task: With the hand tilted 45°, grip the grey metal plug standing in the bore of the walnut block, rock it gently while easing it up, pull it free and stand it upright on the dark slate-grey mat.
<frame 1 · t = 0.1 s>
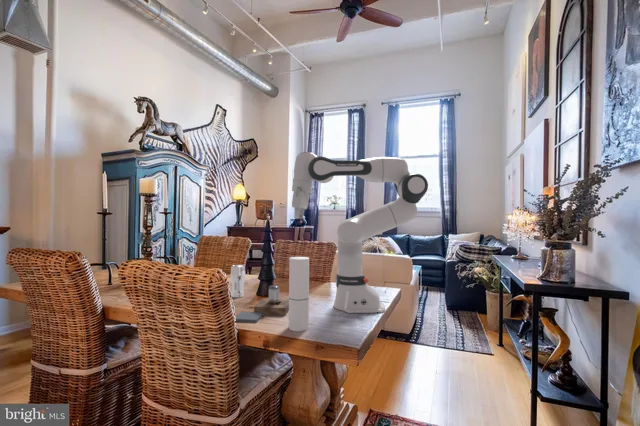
hand: (298, 218, 140), 39 cm above the table, tool pointing down, fingers open, 8 cm apart
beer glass: (237, 296, 153), on the table
slate mat: (248, 318, 121), on the table
metal plug: (273, 298, 132), in the walnut bore block
cylindrical container: (298, 328, 112), on the table
walnut bore block: (273, 309, 132), on the table
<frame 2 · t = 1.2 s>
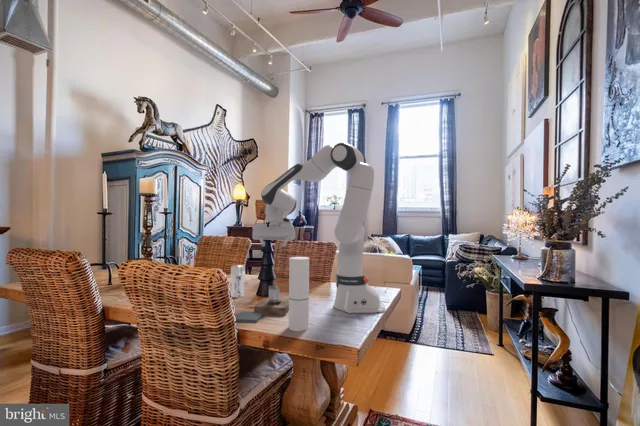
hand: (273, 245, 144), 26 cm above the table, tool tilted 45°, fingers open, 8 cm apart
nothing on the table moved.
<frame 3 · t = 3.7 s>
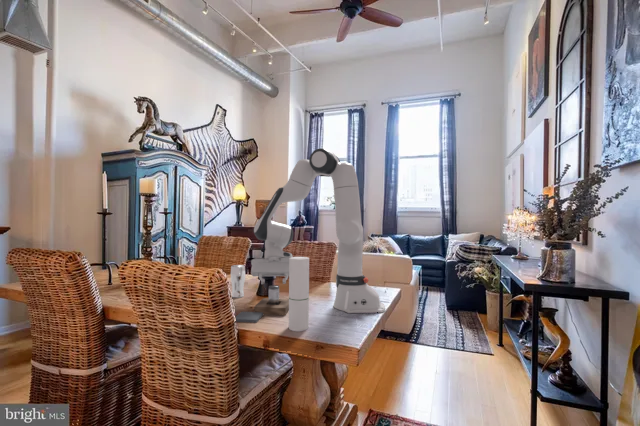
hand: (273, 283, 138), 10 cm above the table, tool tilted 45°, fingers open, 8 cm apart
nothing on the table moved.
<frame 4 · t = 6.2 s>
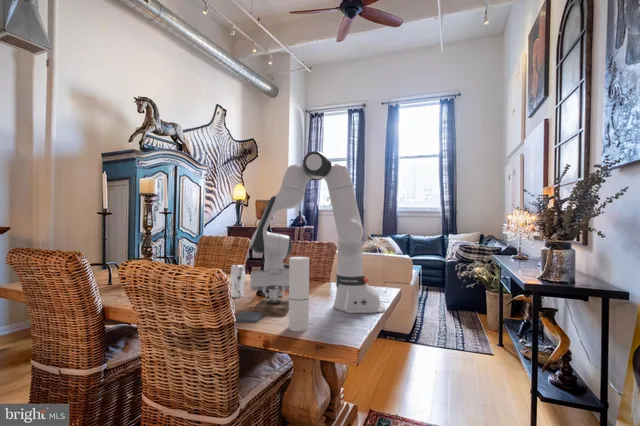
hand: (273, 297, 131), 5 cm above the table, tool tilted 45°, fingers closed on metal plug, 4 cm apart
metal plug: (273, 298, 132), in the walnut bore block, touching gripper
everything else where it was.
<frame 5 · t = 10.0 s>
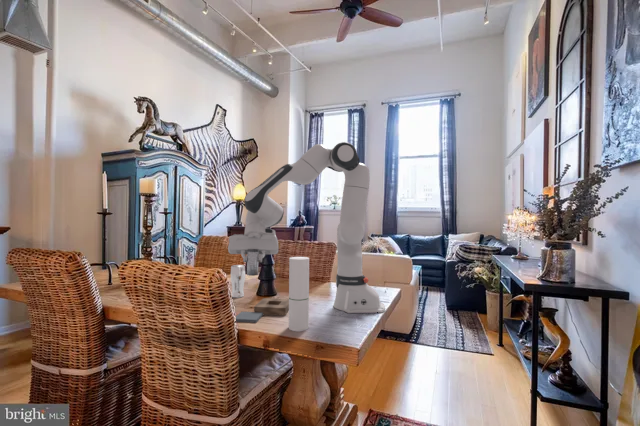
hand: (252, 261, 123), 22 cm above the table, tool tilted 45°, fingers closed on metal plug, 4 cm apart
metal plug: (252, 261, 124), point 22 cm above the table, touching gripper
everything else where it was.
when the fingers open (7 cm above the table, at t = 13.7 s): metal plug stays where it is, resting on slate mat.
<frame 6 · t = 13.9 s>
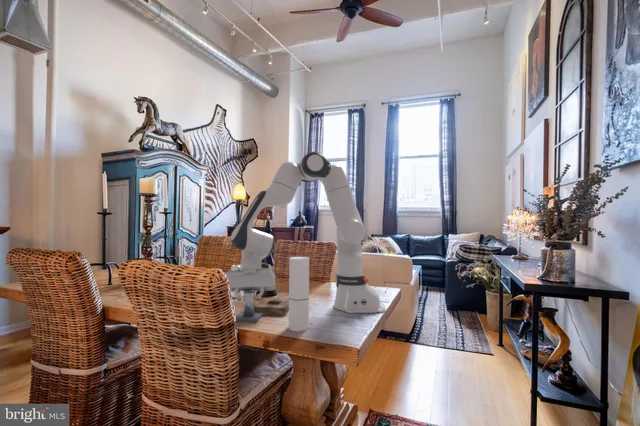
hand: (249, 299, 121), 7 cm above the table, tool tilted 45°, fingers open, 6 cm apart
metal plug: (249, 302, 121), on the slate mat, point 6 cm above the table
everything else where it was.
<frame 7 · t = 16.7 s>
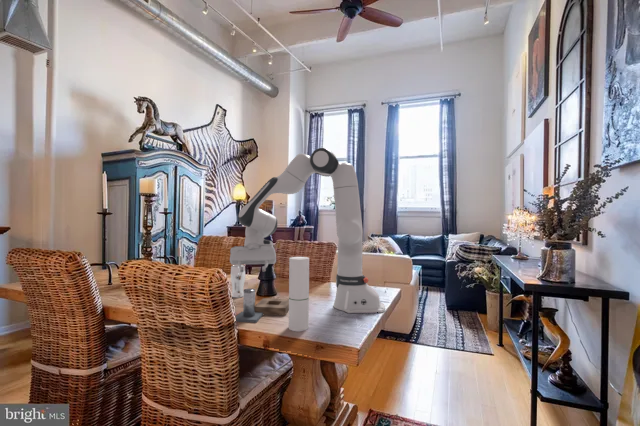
hand: (252, 271, 134), 16 cm above the table, tool tilted 45°, fingers open, 8 cm apart
nothing on the table moved.
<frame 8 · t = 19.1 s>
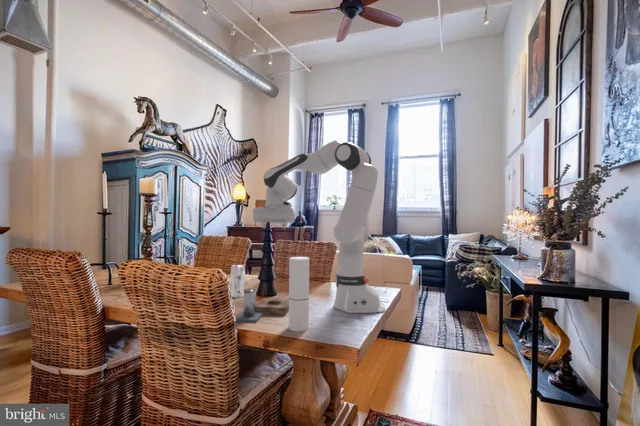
hand: (274, 227, 147), 34 cm above the table, tool tilted 45°, fingers open, 8 cm apart
nothing on the table moved.
at the end: metal plug inside the target area on the slate mat (0.1 cm from its centre), point 6.0 cm above the slate mat's base; metal plug tilted 1°; the gripper is holding nothing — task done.
